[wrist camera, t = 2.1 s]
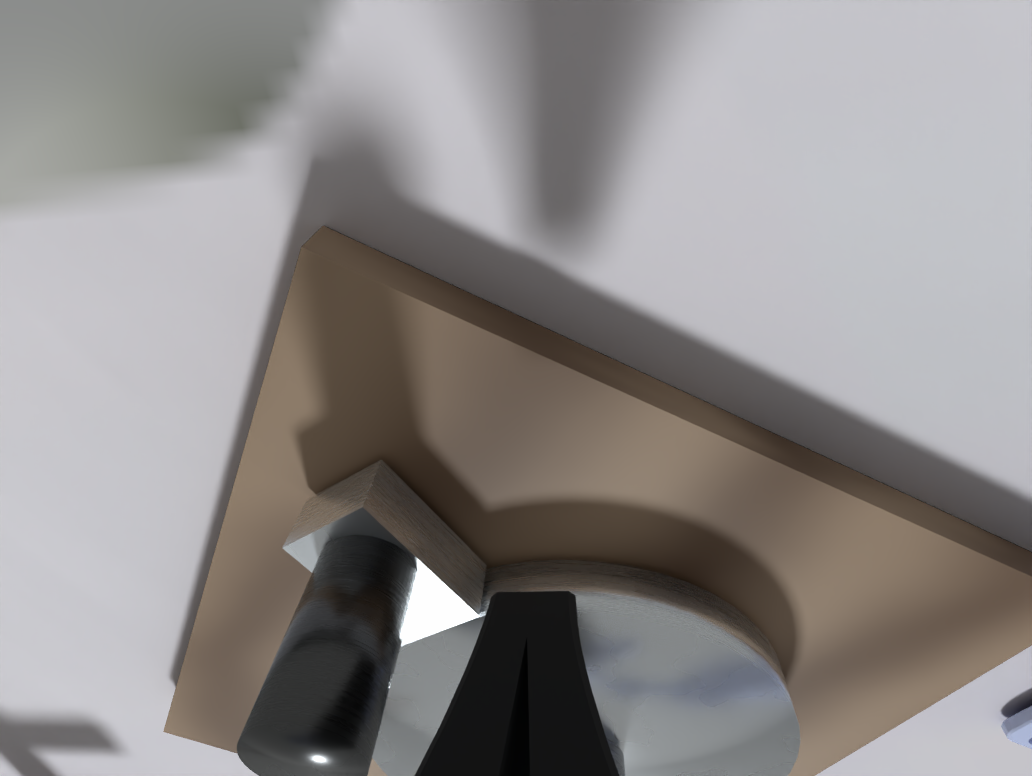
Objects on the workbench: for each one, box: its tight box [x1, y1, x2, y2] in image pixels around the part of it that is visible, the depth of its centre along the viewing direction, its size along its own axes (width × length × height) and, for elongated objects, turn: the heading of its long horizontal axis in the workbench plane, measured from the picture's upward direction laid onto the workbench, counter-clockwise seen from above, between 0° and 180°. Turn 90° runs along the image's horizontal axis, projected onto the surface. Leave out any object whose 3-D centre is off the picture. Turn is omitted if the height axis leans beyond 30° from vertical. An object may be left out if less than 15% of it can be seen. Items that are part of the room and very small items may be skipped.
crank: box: [237, 459, 800, 776], centre depth 15 cm, size 16×12×6 cm
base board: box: [163, 226, 1032, 776], centre depth 19 cm, size 20×20×1 cm
